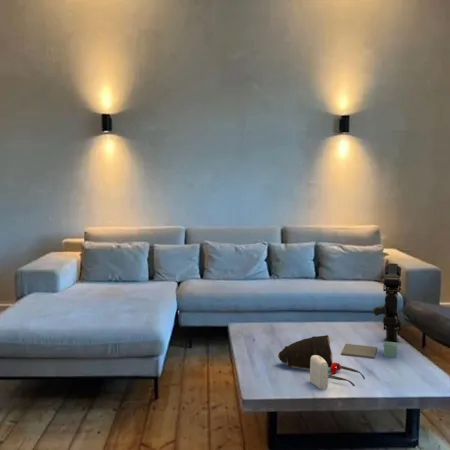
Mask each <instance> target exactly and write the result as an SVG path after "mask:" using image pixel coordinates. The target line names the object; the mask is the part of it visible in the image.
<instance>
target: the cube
mask: <svg viewBox="0 0 450 450" xmlns="http://www.w3.org/2000/svg"><path fill="white" fill-rule="evenodd" d="M383 357H386V358H394V359H396V358H397V357H398V342H387V341H385V340H384V343H383Z"/></svg>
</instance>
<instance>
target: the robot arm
mask: <svg viewBox="0 0 450 450" xmlns="http://www.w3.org/2000/svg"><path fill="white" fill-rule="evenodd" d="M401 277H402V267H401V266H399V265H398V263H395V262H394V263H392V262H391V263H390V262H389V263H388V264H387V265H386V266H385V267H384V278H383V289H382V291H383V292H385V296H384V302H385V303H384V304H383V305H380V306H375V307H373V309H372V310H373V314H374V316H375V317H377V316H380V315H384V316H383V322H382V323H383V330H386V331H385V339H384V342H385V341H387V342H397V343H398V342H399V341H398V340H399V338H398V332H400V331H402V322H401V319H399V318H400V317H399V312H400V311H399V309H398V306H399V305H398V304H399V303H398V302H399V301H398V299H399V298H398V297H399V293H400V292H401V291H402V280H401Z"/></svg>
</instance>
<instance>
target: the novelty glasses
mask: <svg viewBox="0 0 450 450" xmlns="http://www.w3.org/2000/svg"><path fill="white" fill-rule="evenodd" d="M341 370H345V371H348V372H349V371H350V372H354V373H358V374H360V376H361V377H362V378H363V380H365V379H366V378H365V376H364V374H362V372H360V371H359V370H356V369H355V368H352V367H348V366H344V365H341V364H340V363H338V362H334V361H333V364H332V365H331V367H330V368H329V367H328V379H331V380H335V381H336V380H337V381H345V382H349V383H350V384H351V385H352V386H353V387H355V386H356V385H355V383H354V382H352V381H351V380H349V379H347V378H344V377H339V376H337V375H336V372H338V371H341ZM331 374H332V375H331Z"/></svg>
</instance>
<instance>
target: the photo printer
mask: <svg viewBox="0 0 450 450" xmlns="http://www.w3.org/2000/svg"><path fill="white" fill-rule="evenodd" d="M309 381H310V382H311V384H313V385H314V386H315V387H317V389H320V390H327V388H328V384H329V378H328V364H327V362H326V361H325V360H324V359H323V358H322V357H320V356H318V355H313V356H312V357H311V359H310V370H309Z"/></svg>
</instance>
